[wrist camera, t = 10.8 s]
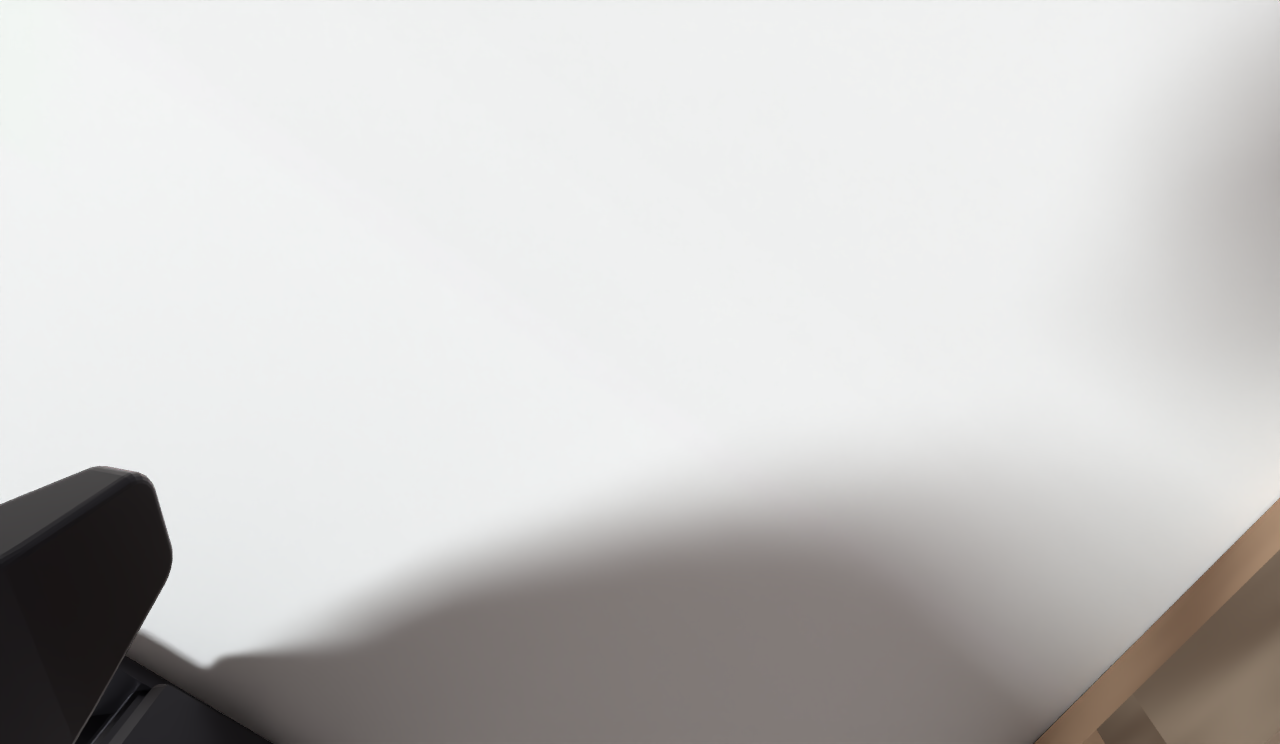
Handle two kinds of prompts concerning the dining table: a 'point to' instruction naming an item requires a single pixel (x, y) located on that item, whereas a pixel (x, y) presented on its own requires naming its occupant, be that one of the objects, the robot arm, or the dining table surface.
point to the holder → (1197, 661)
